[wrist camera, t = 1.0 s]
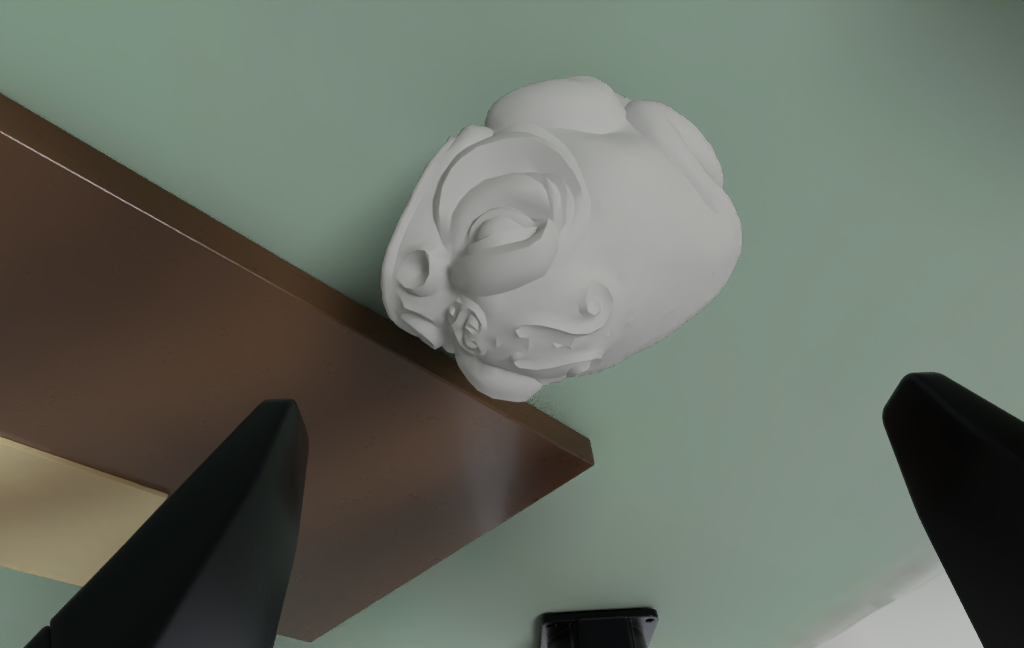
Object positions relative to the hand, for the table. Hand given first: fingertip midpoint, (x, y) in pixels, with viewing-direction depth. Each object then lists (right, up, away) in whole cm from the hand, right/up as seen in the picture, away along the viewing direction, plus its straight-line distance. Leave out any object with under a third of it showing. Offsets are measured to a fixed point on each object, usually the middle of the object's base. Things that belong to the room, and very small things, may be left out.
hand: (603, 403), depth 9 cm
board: (-12, -4, +13) cm, 19 cm away
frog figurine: (0, +5, +6) cm, 8 cm away
